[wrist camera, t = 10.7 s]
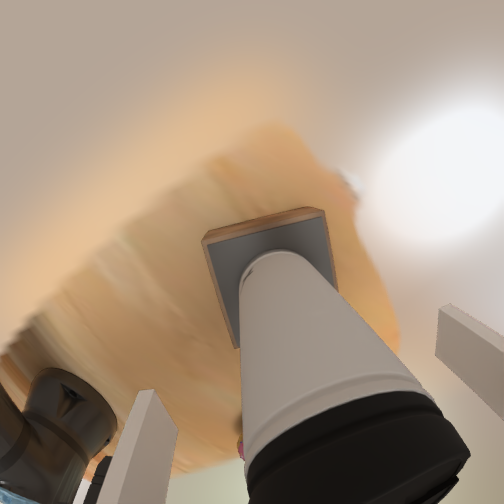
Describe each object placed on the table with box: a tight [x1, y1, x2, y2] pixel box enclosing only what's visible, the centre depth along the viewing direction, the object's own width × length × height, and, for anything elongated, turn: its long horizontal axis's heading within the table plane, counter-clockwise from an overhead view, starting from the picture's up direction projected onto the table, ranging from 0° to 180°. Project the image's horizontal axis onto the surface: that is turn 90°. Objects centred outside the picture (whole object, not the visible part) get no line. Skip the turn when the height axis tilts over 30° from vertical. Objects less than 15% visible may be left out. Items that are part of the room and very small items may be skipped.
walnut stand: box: [201, 207, 339, 349], centre depth 25 cm, size 10×10×6 cm
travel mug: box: [239, 249, 471, 504], centre depth 13 cm, size 6×7×20 cm
